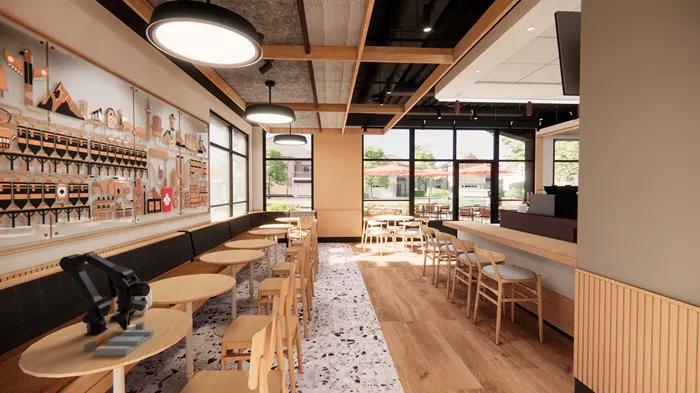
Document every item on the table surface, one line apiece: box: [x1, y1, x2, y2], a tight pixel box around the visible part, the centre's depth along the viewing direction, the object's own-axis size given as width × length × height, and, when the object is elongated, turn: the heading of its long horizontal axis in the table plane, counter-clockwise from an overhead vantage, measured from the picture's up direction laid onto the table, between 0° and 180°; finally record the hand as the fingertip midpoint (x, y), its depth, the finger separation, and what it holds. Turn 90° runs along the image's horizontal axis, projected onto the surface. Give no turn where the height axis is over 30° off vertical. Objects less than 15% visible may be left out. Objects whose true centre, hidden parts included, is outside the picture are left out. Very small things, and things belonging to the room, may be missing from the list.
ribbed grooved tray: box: [94, 329, 154, 357], centre depth 131 cm, size 13×16×3 cm
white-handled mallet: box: [116, 321, 145, 333], centre depth 145 cm, size 10×3×3 cm, turn 108°
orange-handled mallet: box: [83, 333, 107, 352], centre depth 132 cm, size 10×3×3 cm, turn 13°
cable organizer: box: [113, 288, 153, 316], centre depth 166 cm, size 15×11×12 cm
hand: (126, 329), depth 144 cm, fingers closed on white-handled mallet, 3 cm apart
